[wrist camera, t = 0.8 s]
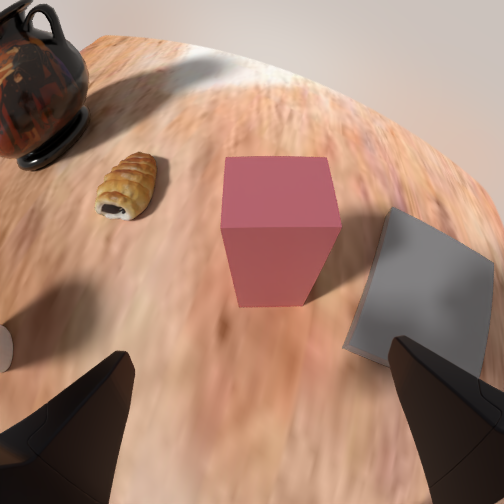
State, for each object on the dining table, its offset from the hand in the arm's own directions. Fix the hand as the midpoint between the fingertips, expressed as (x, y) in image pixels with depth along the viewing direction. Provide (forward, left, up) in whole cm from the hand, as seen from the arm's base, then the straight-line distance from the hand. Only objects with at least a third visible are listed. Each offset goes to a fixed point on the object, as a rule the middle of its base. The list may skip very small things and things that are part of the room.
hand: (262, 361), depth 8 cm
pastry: (+24, +5, -15) cm, 29 cm away
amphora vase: (+47, +16, -15) cm, 52 cm away
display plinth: (-3, -18, -14) cm, 23 cm away
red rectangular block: (+7, -5, -15) cm, 17 cm away
